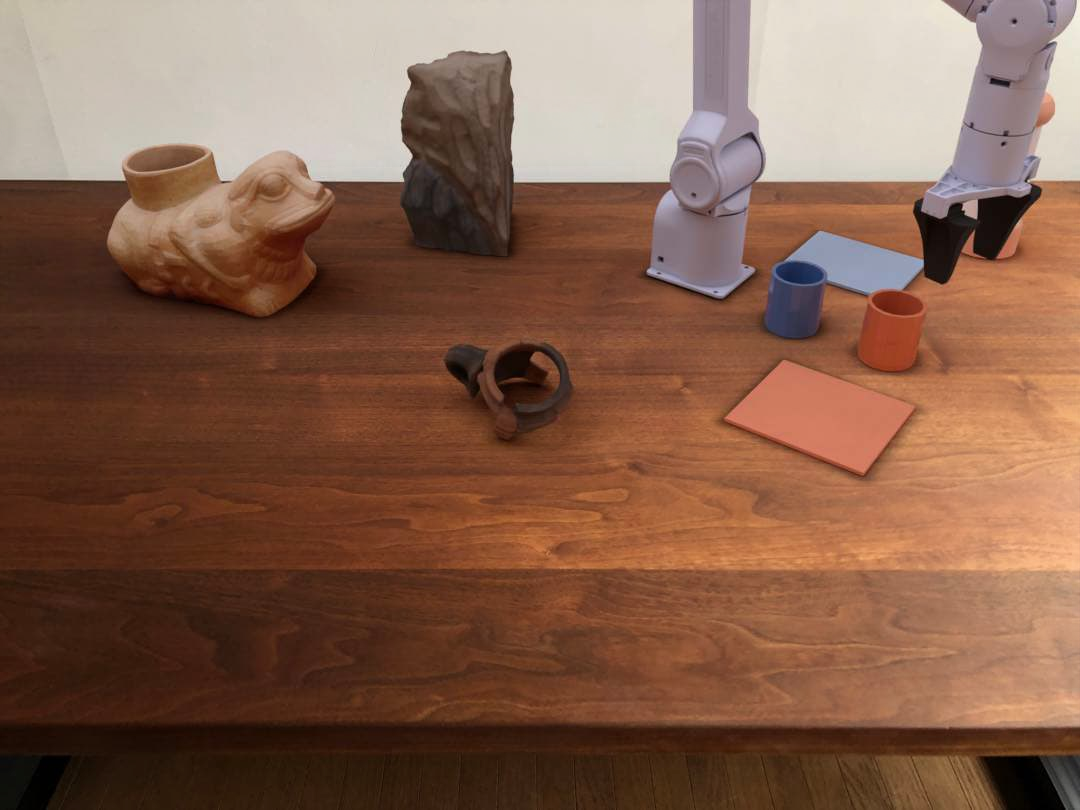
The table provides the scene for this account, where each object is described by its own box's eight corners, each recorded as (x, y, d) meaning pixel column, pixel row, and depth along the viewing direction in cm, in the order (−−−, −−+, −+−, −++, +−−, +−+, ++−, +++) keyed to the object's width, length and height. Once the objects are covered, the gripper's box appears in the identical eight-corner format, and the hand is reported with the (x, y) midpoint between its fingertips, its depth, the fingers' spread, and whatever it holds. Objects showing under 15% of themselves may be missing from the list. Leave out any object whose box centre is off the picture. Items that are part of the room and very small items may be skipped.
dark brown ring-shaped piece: (576, 385, 99) (591, 344, 92) (546, 473, 95) (560, 438, 88) (455, 344, 99) (461, 299, 92) (420, 430, 95) (424, 391, 88)
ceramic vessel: (306, 332, 106) (286, 193, 97) (88, 290, 113) (51, 157, 104) (368, 271, 117) (355, 140, 108) (165, 236, 124) (138, 111, 115)
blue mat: (778, 268, 118) (778, 265, 118) (819, 233, 125) (819, 230, 125) (890, 302, 111) (891, 299, 111) (927, 264, 119) (927, 260, 119)
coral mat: (723, 421, 94) (724, 417, 94) (783, 362, 102) (783, 359, 102) (863, 476, 88) (863, 472, 87) (914, 409, 96) (915, 405, 95)
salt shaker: (1021, 240, 124) (1069, 78, 113) (1007, 265, 119) (1056, 97, 108) (958, 226, 127) (999, 66, 116) (942, 249, 122) (983, 84, 111)
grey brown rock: (400, 246, 122) (386, 73, 110) (434, 202, 132) (425, 39, 120) (506, 258, 119) (503, 83, 108) (532, 212, 129) (532, 47, 118)
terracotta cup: (848, 359, 102) (859, 305, 99) (869, 336, 106) (880, 283, 102) (901, 378, 100) (915, 323, 96) (922, 353, 103) (935, 300, 100)
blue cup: (754, 327, 107) (762, 275, 104) (778, 306, 111) (786, 255, 107) (804, 344, 105) (813, 291, 101) (826, 322, 108) (836, 270, 105)
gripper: (991, 158, 83) (951, 308, 91) (1088, 119, 90) (1043, 261, 98) (915, 132, 87) (883, 277, 95) (1013, 97, 95) (977, 234, 103)
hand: (960, 267), depth 97 cm, fingers open, 7 cm apart
